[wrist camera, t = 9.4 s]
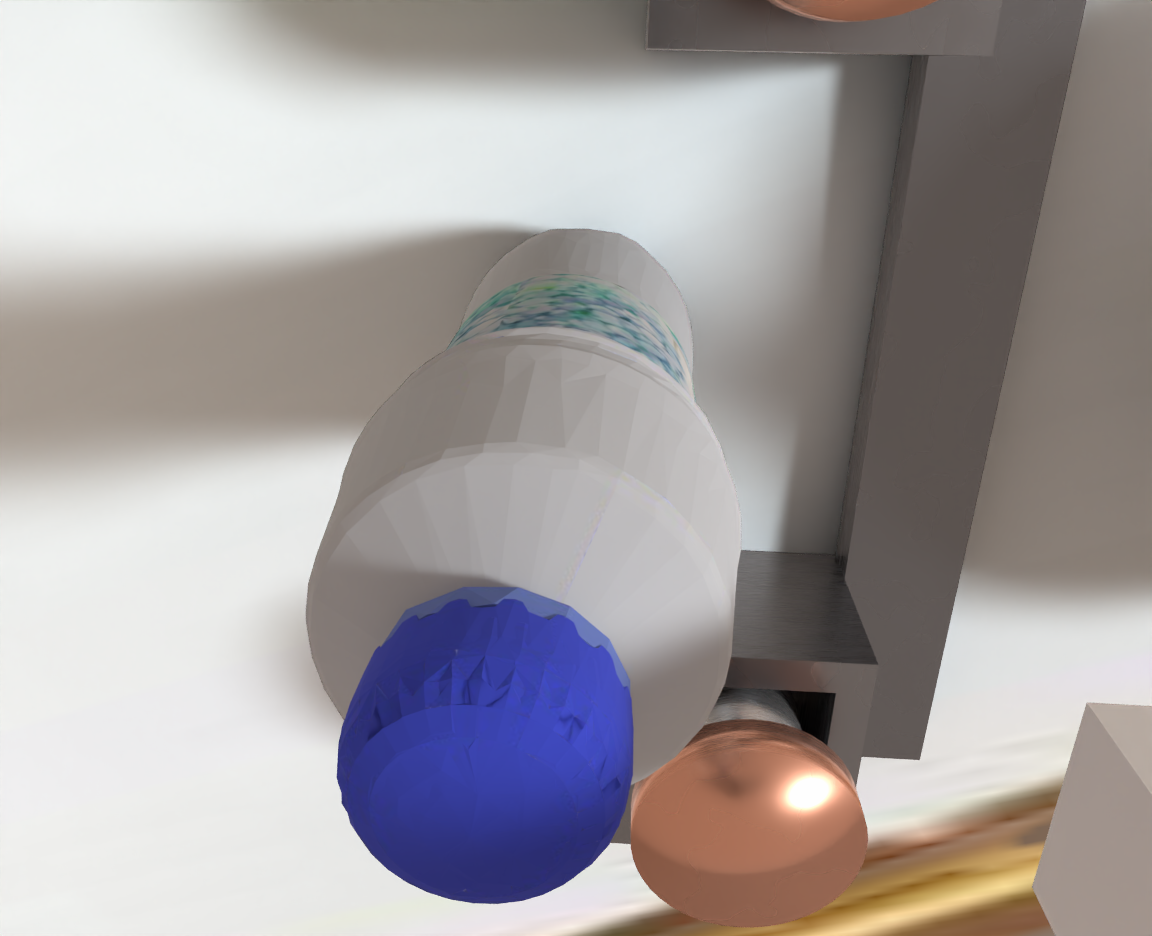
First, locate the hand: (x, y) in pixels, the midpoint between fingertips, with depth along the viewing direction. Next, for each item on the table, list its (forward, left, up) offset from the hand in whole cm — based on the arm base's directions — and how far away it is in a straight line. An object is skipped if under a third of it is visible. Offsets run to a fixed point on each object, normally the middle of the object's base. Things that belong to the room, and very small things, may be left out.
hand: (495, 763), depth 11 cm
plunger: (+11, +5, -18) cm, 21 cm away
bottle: (0, 0, -19) cm, 19 cm away
